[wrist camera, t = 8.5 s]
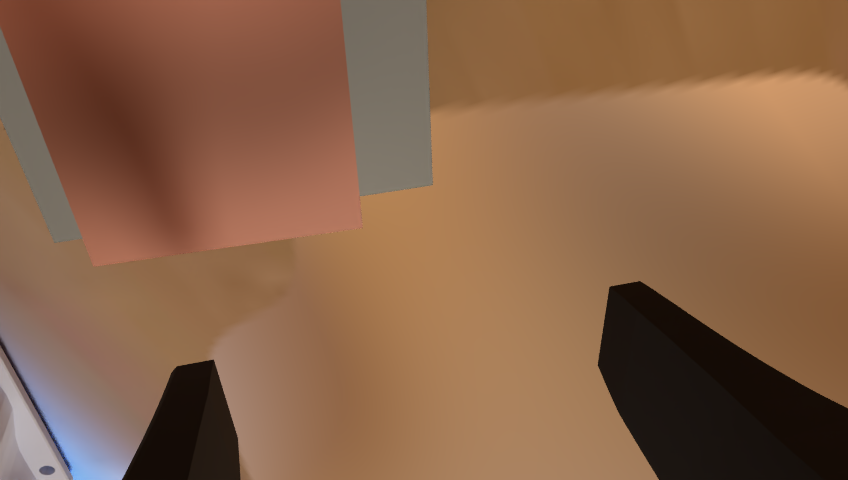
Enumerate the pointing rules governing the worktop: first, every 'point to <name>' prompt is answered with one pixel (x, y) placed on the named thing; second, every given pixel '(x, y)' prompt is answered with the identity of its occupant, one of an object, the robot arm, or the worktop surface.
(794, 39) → the worktop surface
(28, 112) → the grey block
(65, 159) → the red cube
